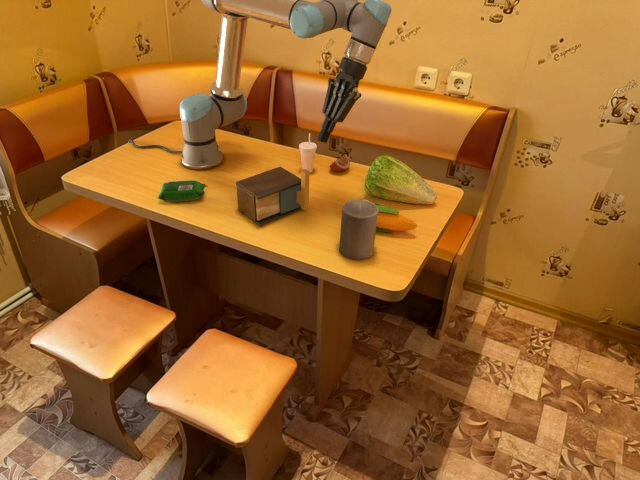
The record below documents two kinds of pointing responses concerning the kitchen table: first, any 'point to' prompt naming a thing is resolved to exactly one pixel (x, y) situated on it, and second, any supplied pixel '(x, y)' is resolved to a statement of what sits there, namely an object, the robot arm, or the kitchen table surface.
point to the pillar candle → (358, 229)
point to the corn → (392, 220)
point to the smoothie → (307, 154)
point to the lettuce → (397, 182)
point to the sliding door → (296, 195)
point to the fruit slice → (341, 163)
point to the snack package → (181, 191)
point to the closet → (265, 195)
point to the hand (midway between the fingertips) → (321, 141)
